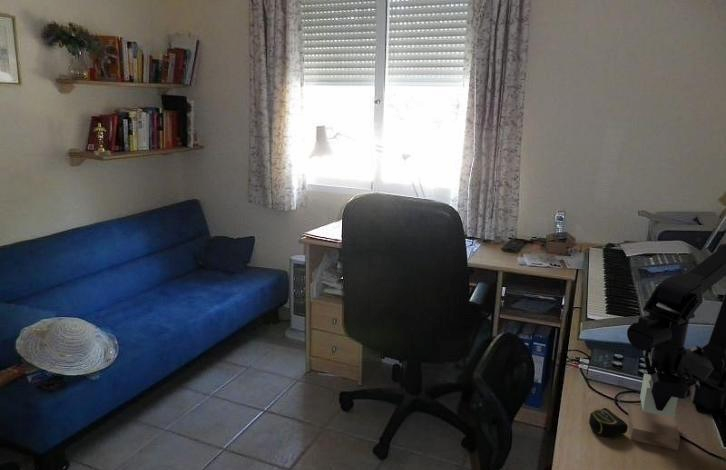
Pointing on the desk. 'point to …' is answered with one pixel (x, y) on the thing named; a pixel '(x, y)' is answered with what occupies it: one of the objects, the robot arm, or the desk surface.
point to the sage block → (648, 400)
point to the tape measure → (607, 423)
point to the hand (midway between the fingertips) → (657, 402)
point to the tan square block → (653, 428)
